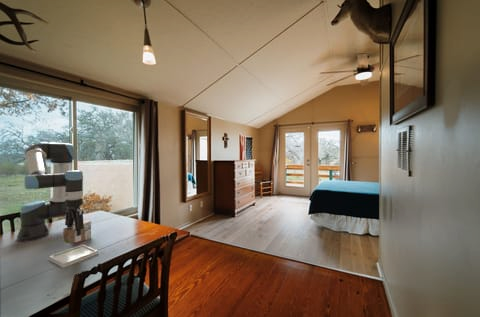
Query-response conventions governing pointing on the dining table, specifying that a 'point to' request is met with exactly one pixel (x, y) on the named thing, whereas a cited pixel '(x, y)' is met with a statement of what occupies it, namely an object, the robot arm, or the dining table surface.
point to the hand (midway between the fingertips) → (74, 239)
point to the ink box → (86, 230)
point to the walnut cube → (71, 234)
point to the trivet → (73, 255)
